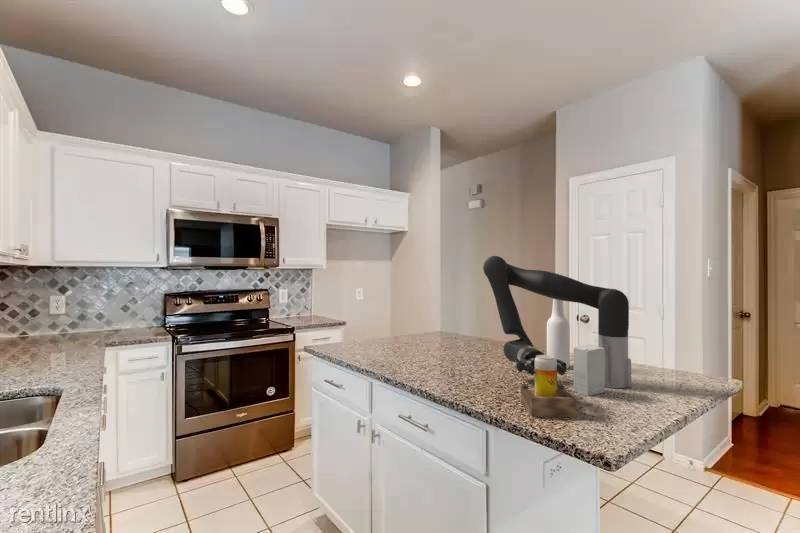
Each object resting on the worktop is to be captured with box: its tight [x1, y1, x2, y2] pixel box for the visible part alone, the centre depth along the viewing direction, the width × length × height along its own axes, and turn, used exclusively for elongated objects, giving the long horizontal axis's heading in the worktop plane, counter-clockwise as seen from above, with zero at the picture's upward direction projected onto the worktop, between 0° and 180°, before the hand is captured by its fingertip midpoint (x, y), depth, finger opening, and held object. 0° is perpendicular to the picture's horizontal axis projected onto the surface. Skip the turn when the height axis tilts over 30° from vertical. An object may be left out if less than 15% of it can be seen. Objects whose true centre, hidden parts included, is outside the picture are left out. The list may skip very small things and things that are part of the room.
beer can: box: [534, 354, 558, 397], centre depth 119 cm, size 6×6×15 cm
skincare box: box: [573, 344, 606, 397], centre depth 134 cm, size 8×6×15 cm
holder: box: [520, 383, 577, 418], centre depth 118 cm, size 12×12×6 cm
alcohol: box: [546, 298, 571, 370], centre depth 169 cm, size 9×9×30 cm
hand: (547, 371), depth 118 cm, fingers open, 8 cm apart
